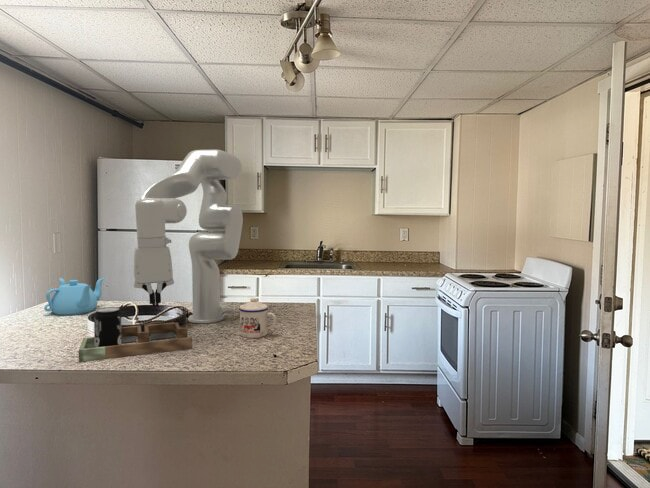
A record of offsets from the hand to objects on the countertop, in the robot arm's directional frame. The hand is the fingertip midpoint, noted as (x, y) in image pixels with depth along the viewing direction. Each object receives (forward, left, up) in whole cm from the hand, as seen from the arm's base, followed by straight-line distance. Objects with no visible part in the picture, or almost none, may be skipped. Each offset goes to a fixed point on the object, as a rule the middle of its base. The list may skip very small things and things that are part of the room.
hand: (155, 305), depth 122 cm
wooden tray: (+5, -3, -12) cm, 13 cm away
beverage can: (+12, +2, -12) cm, 17 cm away
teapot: (+26, -58, -12) cm, 64 cm away
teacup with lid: (-30, +1, -12) cm, 32 cm away
